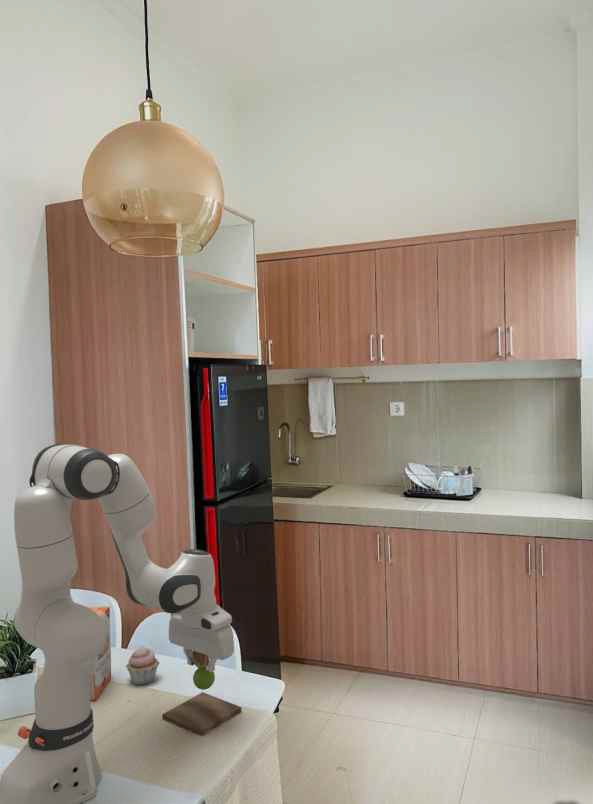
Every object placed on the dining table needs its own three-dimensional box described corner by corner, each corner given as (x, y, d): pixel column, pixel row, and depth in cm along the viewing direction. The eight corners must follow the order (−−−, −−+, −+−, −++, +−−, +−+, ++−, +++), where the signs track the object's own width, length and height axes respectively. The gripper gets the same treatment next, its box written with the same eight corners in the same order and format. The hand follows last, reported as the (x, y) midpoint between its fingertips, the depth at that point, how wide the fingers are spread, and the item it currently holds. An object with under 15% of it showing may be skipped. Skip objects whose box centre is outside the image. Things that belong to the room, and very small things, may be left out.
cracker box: (97, 701, 175) (94, 623, 174) (75, 701, 175) (71, 624, 174) (113, 677, 189) (110, 605, 188) (92, 677, 189) (89, 605, 188)
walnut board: (201, 736, 156) (201, 731, 156) (162, 718, 165) (162, 714, 165) (241, 711, 167) (241, 707, 167) (202, 696, 176) (202, 692, 176)
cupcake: (150, 669, 193) (149, 636, 192) (165, 680, 186) (164, 646, 185) (120, 679, 187) (119, 645, 187) (134, 691, 180) (133, 655, 179)
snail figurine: (208, 694, 161) (199, 645, 162) (190, 692, 165) (181, 644, 165) (223, 685, 165) (214, 637, 166) (206, 683, 169) (197, 636, 170)
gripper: (161, 609, 169) (163, 662, 169) (218, 626, 156) (221, 683, 157) (180, 602, 174) (182, 653, 174) (236, 617, 161) (239, 672, 162)
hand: (201, 667), depth 166 cm, fingers closed on snail figurine, 5 cm apart
